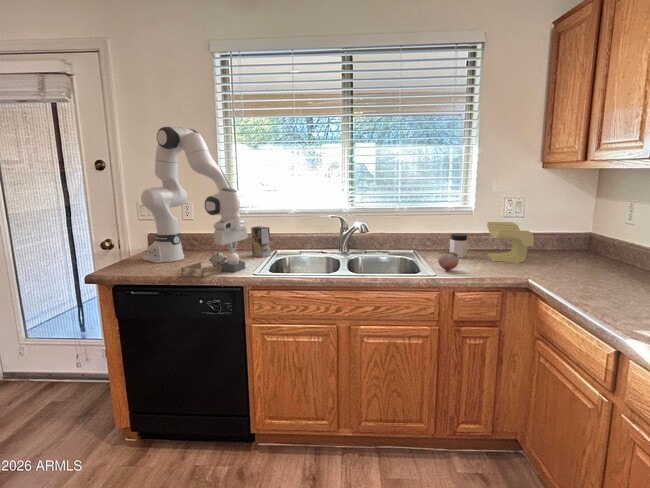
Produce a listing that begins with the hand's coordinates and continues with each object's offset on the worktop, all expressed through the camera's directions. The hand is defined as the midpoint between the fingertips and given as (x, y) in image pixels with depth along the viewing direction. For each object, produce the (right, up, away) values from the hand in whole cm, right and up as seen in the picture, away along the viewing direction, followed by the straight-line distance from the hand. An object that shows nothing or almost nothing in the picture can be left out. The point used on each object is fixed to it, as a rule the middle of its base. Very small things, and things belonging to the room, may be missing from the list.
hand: (232, 251), depth 186 cm
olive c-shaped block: (+140, -5, +17) cm, 141 cm away
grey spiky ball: (-9, -8, +7) cm, 14 cm away
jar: (+117, -3, +25) cm, 120 cm away
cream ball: (0, -7, +1) cm, 7 cm away
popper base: (0, -9, +2) cm, 9 cm away
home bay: (-14, -10, -3) cm, 17 cm away
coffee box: (+9, -3, +32) cm, 33 cm away
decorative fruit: (+102, -9, -4) cm, 103 cm away
